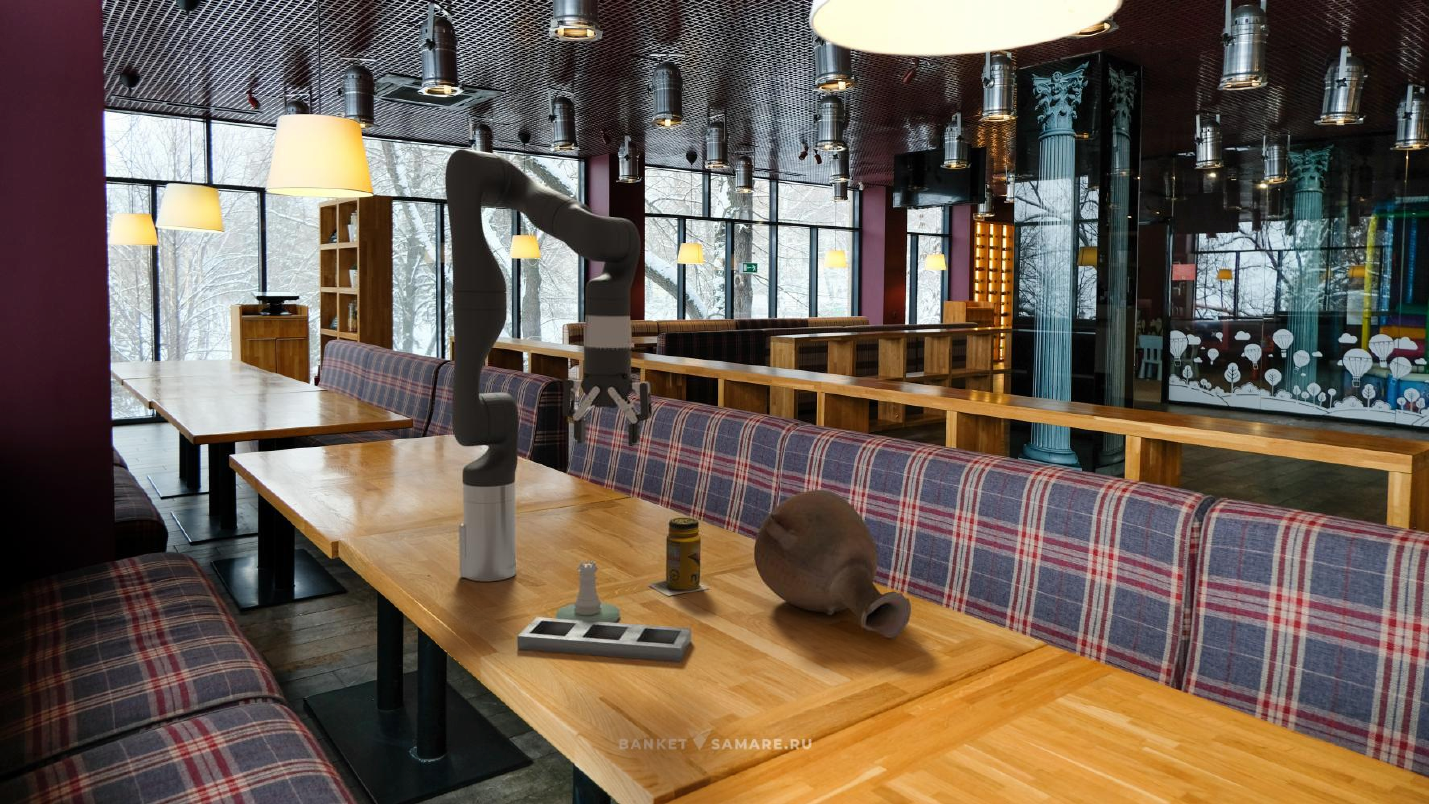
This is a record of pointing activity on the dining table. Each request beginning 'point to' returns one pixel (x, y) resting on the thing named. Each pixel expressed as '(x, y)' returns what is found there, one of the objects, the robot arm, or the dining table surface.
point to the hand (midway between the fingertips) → (606, 444)
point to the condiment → (682, 558)
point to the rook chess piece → (587, 591)
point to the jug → (826, 561)
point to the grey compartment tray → (584, 643)
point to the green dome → (605, 615)
